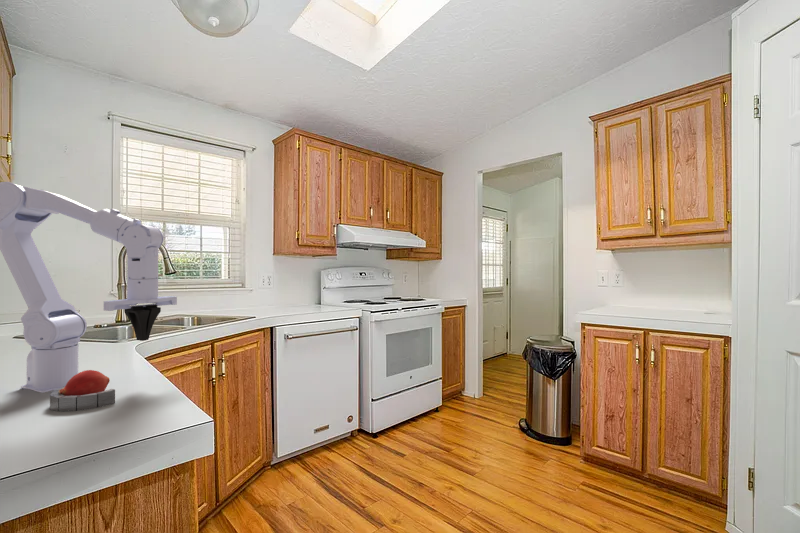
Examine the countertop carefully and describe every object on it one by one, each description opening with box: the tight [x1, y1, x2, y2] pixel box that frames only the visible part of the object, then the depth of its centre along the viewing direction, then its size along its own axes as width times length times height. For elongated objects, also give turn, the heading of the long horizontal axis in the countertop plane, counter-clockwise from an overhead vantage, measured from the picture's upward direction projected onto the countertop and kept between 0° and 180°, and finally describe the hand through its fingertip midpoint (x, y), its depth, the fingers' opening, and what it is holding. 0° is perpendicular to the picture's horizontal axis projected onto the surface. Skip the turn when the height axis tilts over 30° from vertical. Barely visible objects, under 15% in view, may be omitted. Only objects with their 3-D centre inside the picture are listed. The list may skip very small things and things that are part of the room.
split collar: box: [49, 386, 116, 413], centre depth 71 cm, size 11×7×3 cm, turn 65°
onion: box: [59, 369, 110, 396], centre depth 72 cm, size 6×6×8 cm
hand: (142, 340), depth 84 cm, fingers closed
